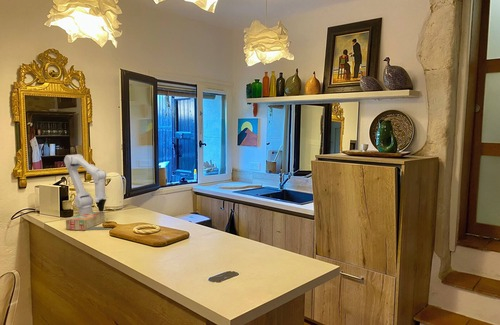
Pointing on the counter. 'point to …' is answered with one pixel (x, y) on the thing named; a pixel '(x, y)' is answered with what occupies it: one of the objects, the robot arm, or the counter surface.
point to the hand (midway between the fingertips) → (101, 211)
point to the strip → (96, 228)
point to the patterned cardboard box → (85, 221)
